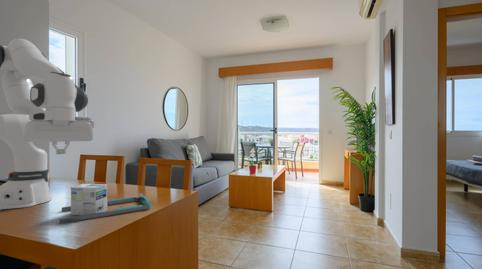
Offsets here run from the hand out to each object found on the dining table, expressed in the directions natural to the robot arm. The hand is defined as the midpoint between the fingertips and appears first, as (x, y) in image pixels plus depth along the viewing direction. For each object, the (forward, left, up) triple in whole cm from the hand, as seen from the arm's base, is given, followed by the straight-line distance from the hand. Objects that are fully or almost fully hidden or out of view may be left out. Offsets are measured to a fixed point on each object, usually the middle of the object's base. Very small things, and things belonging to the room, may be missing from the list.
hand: (61, 154), depth 88 cm
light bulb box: (+9, 0, -24) cm, 25 cm away
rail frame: (+16, 0, -23) cm, 28 cm away
